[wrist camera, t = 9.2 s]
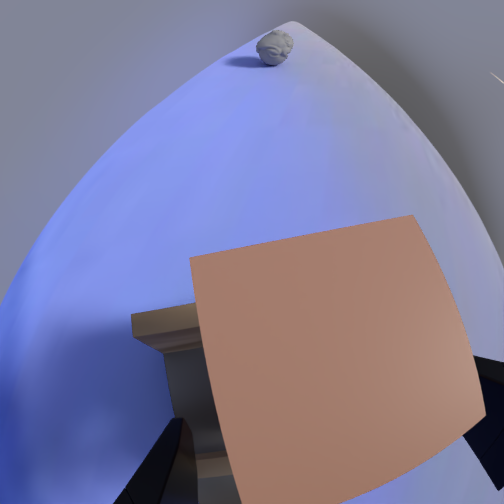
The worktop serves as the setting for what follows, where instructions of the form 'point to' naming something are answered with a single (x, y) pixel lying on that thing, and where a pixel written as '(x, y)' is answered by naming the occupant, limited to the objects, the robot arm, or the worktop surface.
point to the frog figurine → (274, 47)
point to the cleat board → (191, 394)
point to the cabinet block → (333, 360)
